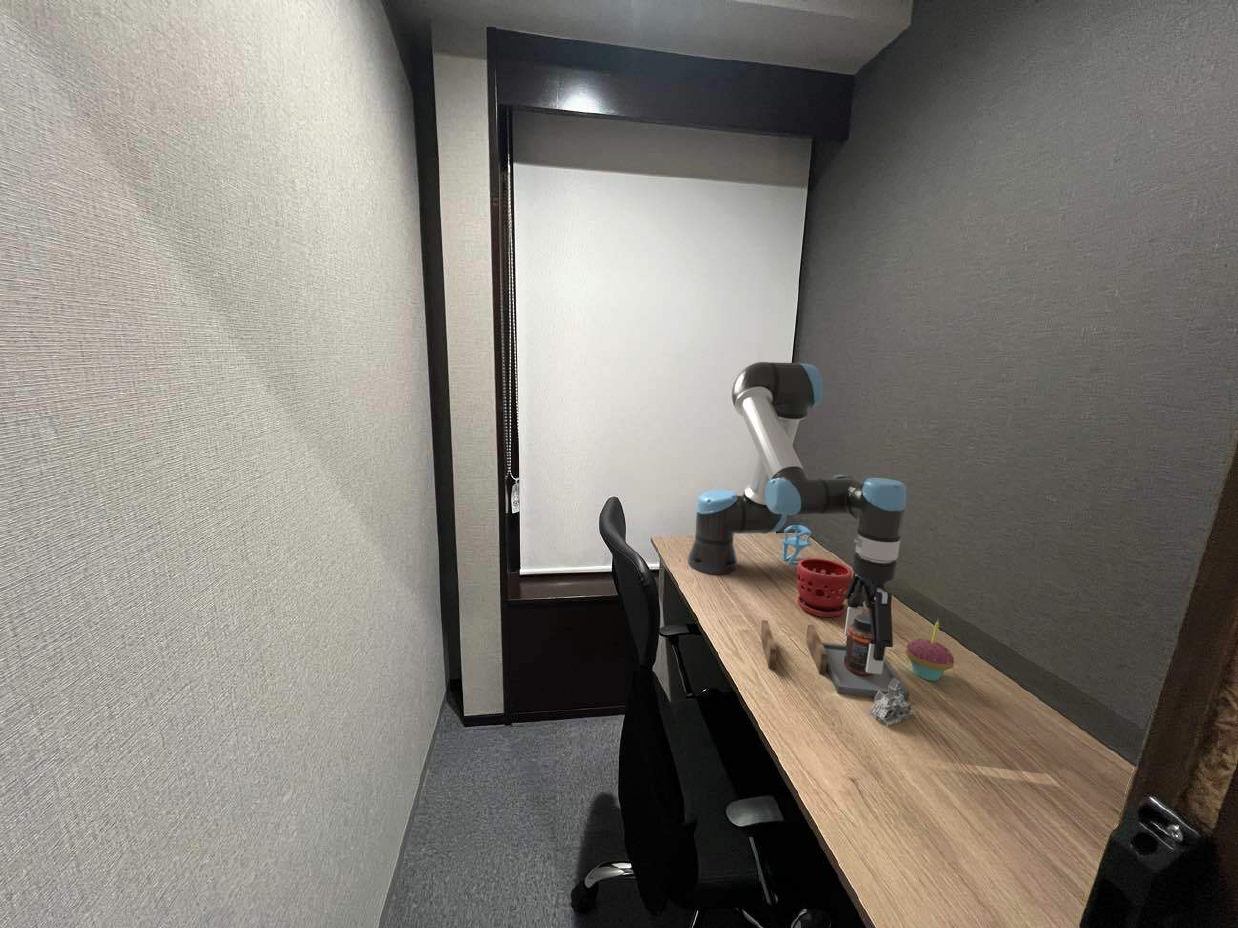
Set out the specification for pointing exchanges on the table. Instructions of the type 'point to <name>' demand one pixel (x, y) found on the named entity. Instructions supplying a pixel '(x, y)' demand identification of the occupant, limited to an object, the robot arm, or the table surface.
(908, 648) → the cupcake
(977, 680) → the table surface
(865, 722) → the table surface
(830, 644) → the tray
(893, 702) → the house of cards
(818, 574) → the plant pot
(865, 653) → the supplement bottle
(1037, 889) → the table surface
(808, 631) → the cradle
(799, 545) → the chair
